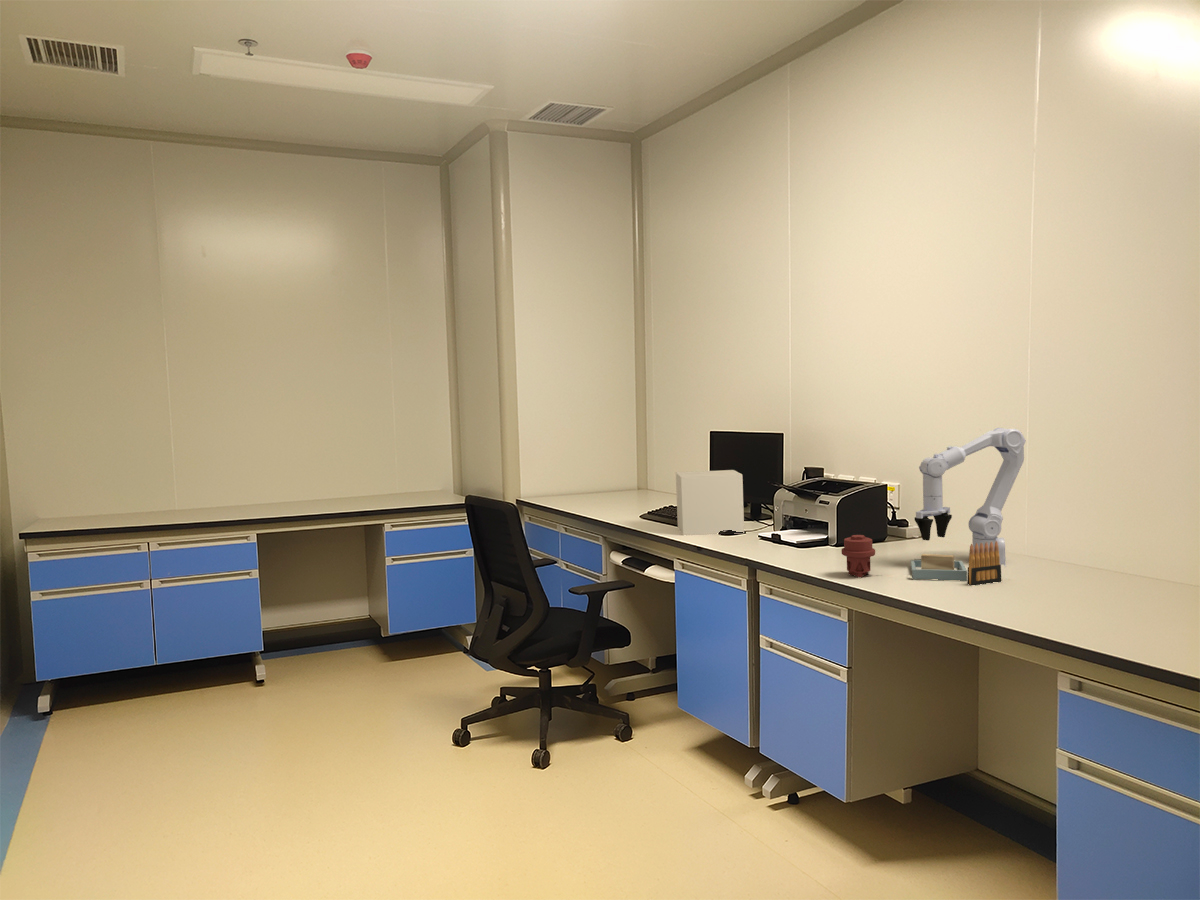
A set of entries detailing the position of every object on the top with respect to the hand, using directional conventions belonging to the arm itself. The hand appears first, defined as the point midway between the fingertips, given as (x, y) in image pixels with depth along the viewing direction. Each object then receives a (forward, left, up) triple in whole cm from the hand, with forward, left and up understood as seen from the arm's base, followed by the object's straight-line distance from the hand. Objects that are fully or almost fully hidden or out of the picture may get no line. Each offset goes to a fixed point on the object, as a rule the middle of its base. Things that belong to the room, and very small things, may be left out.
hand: (933, 538), depth 271 cm
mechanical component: (+23, +14, -10) cm, 28 cm away
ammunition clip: (-12, +20, -10) cm, 26 cm away
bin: (0, +11, -9) cm, 14 cm away
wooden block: (0, +11, -9) cm, 14 cm away
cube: (+84, -67, -10) cm, 108 cm away
